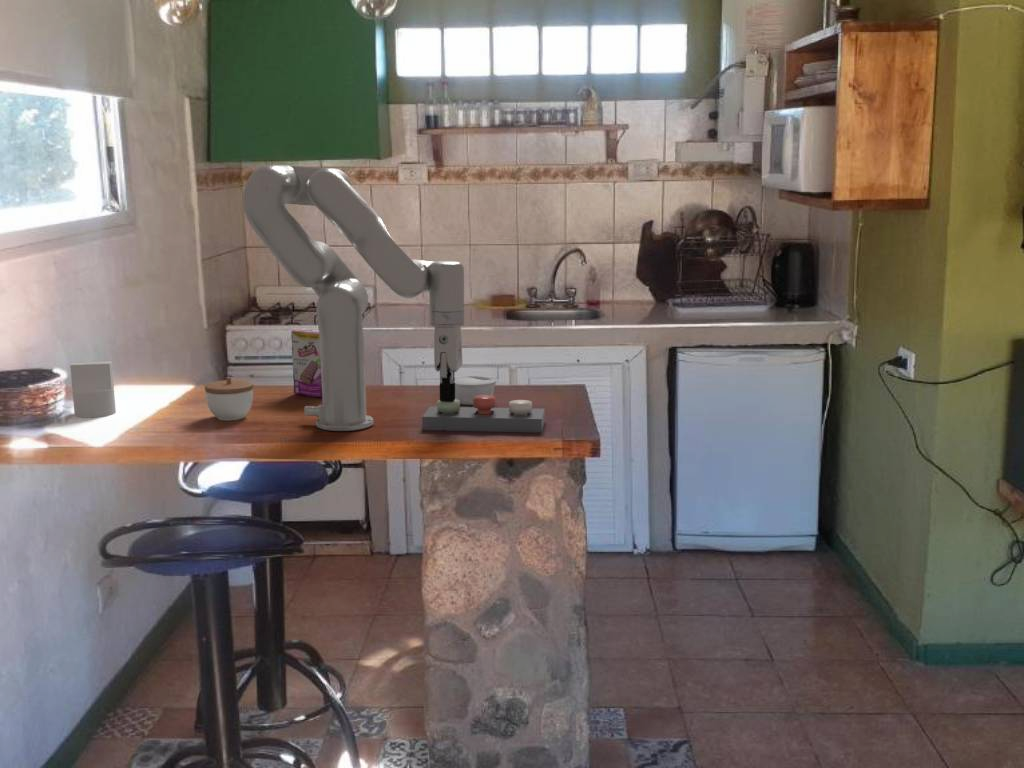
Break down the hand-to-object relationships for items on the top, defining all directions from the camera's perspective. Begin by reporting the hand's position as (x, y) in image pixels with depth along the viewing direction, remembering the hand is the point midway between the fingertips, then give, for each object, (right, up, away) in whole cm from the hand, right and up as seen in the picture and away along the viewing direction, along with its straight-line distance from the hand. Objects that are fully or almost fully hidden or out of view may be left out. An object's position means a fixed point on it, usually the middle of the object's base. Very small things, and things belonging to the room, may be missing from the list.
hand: (447, 400), depth 236 cm
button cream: (+16, -5, -1) cm, 17 cm away
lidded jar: (-50, -4, +9) cm, 51 cm away
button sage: (0, -5, +1) cm, 5 cm away
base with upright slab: (-83, -3, +13) cm, 84 cm away
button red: (+8, -4, 0) cm, 9 cm away
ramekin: (+5, -1, +25) cm, 26 cm away
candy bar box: (-35, +1, +32) cm, 47 cm away
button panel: (+8, -6, 0) cm, 10 cm away
